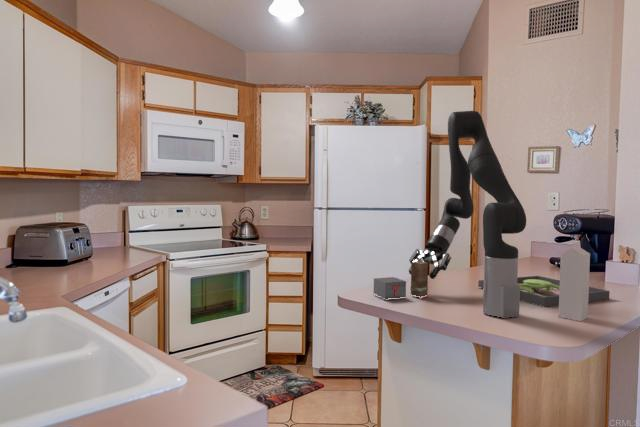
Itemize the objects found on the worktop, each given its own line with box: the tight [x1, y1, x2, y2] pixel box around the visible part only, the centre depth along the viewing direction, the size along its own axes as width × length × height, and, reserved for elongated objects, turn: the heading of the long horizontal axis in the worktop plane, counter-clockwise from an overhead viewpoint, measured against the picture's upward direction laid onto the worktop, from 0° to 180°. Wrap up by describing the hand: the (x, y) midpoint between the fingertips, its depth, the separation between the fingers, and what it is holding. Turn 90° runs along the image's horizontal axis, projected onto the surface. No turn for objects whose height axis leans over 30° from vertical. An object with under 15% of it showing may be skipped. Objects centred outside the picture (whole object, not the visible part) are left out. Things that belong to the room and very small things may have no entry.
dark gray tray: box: [477, 275, 610, 307], centre depth 161 cm, size 30×30×3 cm
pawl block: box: [373, 276, 407, 299], centre depth 153 cm, size 8×8×6 cm
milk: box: [558, 241, 591, 322], centre depth 130 cm, size 6×6×22 cm
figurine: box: [519, 279, 560, 294], centre depth 160 cm, size 18×27×6 cm
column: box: [410, 261, 429, 297], centre depth 154 cm, size 4×4×12 cm
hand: (420, 275), depth 154 cm, fingers open, 8 cm apart
